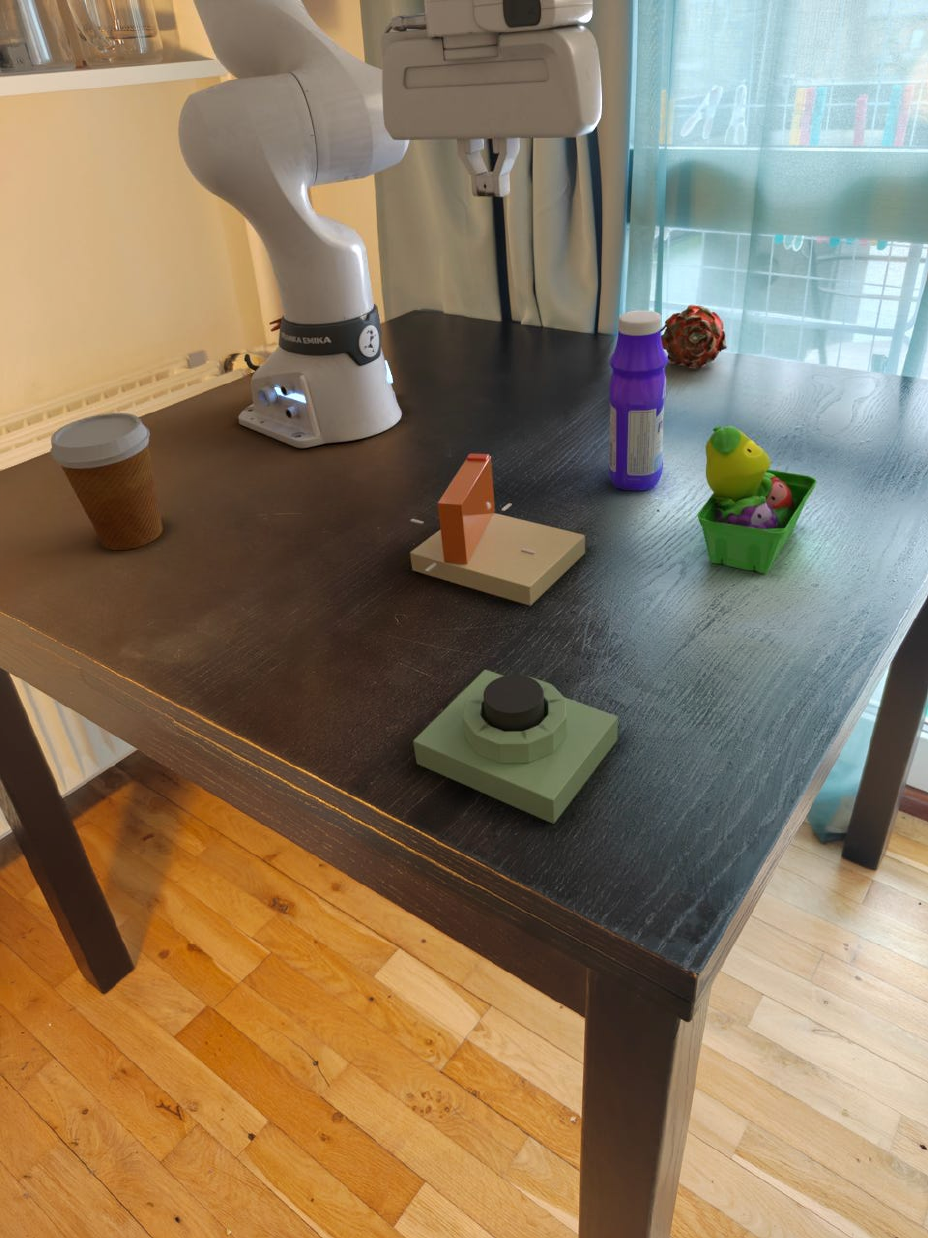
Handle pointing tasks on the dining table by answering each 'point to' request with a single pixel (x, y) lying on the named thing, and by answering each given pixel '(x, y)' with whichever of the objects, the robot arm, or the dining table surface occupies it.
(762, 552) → the fruit basket
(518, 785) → the button box
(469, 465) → the orange block
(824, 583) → the dining table surface
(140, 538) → the disposable coffee cup
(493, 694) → the button
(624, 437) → the bottle
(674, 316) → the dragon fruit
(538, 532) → the beige rectangular board
